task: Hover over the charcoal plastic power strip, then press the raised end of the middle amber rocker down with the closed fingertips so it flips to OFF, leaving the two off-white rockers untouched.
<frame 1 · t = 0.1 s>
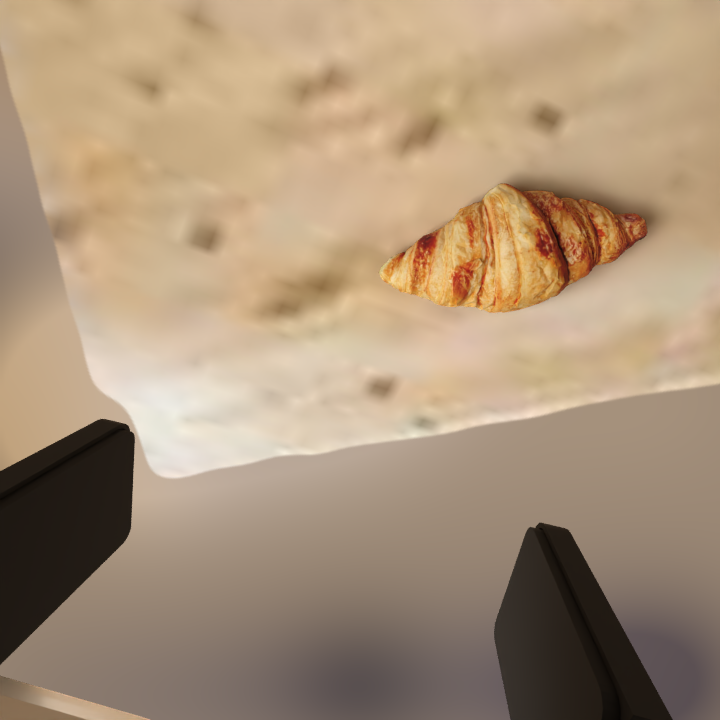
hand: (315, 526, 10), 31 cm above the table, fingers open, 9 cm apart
croissant: (498, 250, 37), on the table
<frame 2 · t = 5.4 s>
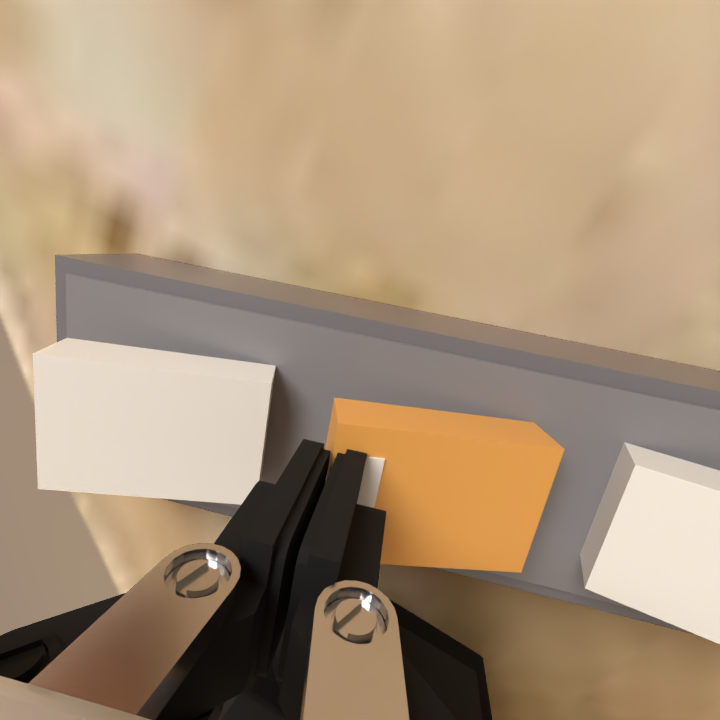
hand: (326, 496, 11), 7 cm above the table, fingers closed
amber rocker: (430, 487, 12), point 6 cm above the table, hinge at -14.9°, touching gripper
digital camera: (377, 617, 21), on the table
white rocker 1: (163, 423, 12), point 6 cm above the table, hinge at -15.0°
power strip: (427, 411, 17), on the table
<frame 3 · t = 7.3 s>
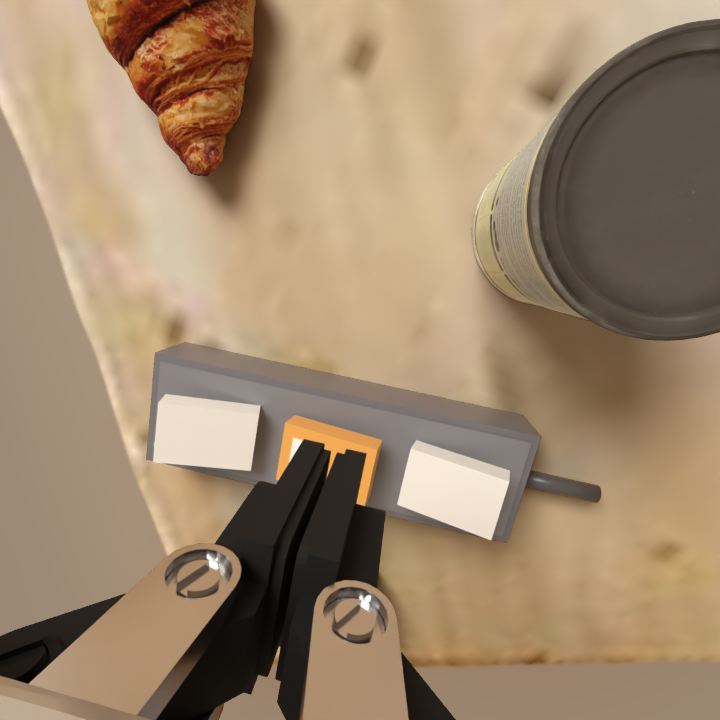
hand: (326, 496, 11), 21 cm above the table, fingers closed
coffee can: (547, 228, 28), on the table
white rocker 2: (452, 488, 26), point 6 cm above the table, hinge at 15.0°
amber rocker: (328, 460, 27), point 6 cm above the table, hinge at 8.9°
white rocker 1: (208, 432, 27), point 6 cm above the table, hinge at -15.0°
croissant: (197, 11, 27), on the table
power strip: (341, 426, 32), on the table
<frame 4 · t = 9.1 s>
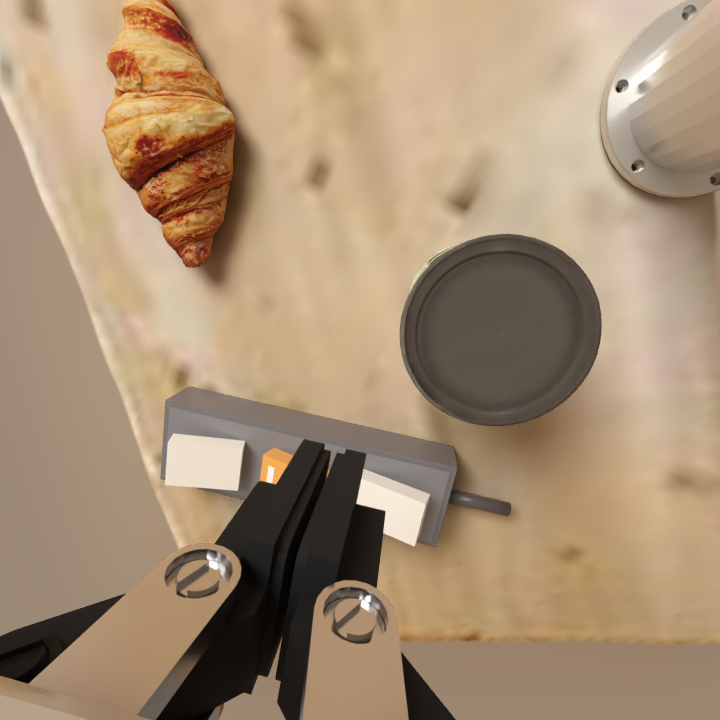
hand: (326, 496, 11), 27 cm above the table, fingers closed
coffee can: (466, 304, 36), on the table
white rocker 2: (388, 506, 35), point 6 cm above the table, hinge at 15.0°
amber rocker: (295, 484, 35), point 6 cm above the table, hinge at 15.8°, touching power strip
white rocker 1: (205, 462, 36), point 6 cm above the table, hinge at -15.0°
croissant: (191, 138, 36), on the table
power strip: (311, 453, 41), on the table
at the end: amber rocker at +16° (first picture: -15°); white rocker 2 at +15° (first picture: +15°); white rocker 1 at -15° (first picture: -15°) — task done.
